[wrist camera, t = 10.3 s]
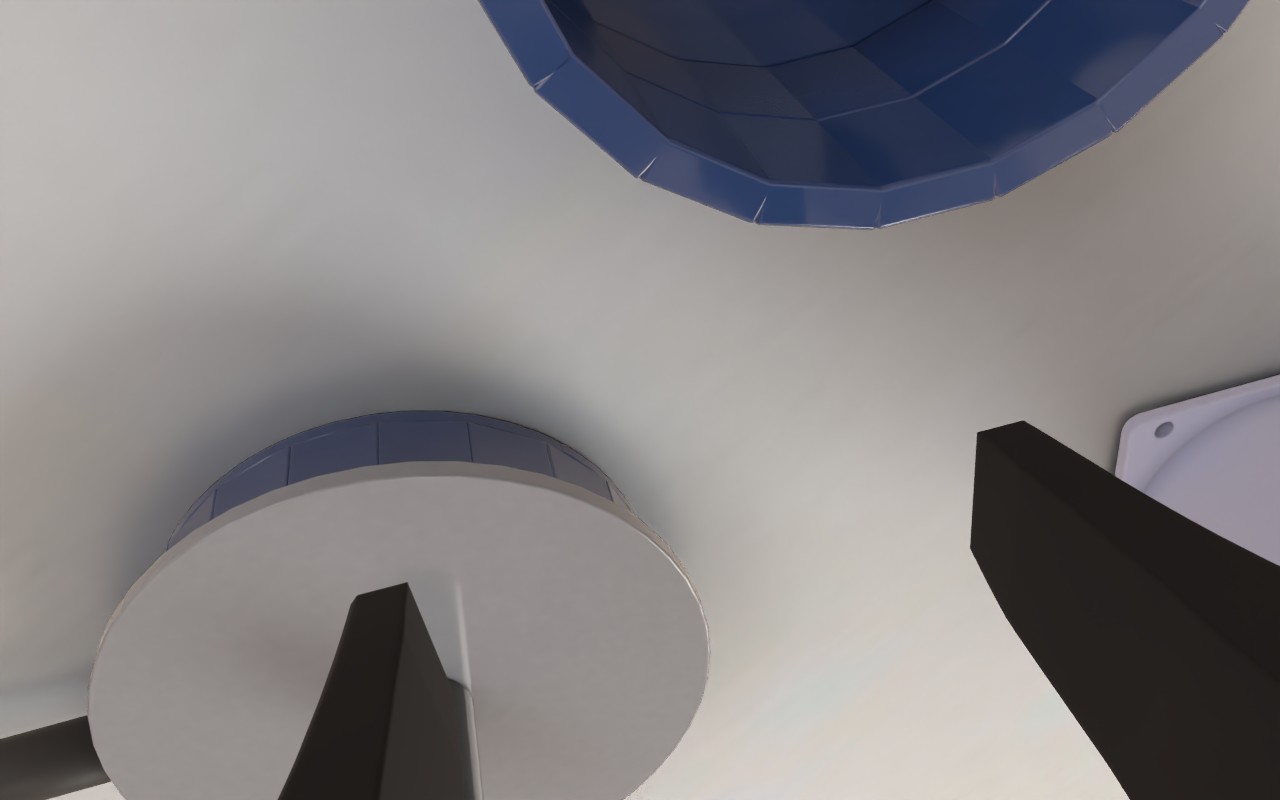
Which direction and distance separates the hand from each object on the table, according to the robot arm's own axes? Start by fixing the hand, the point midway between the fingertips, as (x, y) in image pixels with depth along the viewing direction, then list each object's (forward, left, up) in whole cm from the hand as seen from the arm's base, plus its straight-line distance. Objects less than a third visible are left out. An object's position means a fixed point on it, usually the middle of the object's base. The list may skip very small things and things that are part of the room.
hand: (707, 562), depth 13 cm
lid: (+6, +9, -7) cm, 13 cm away
